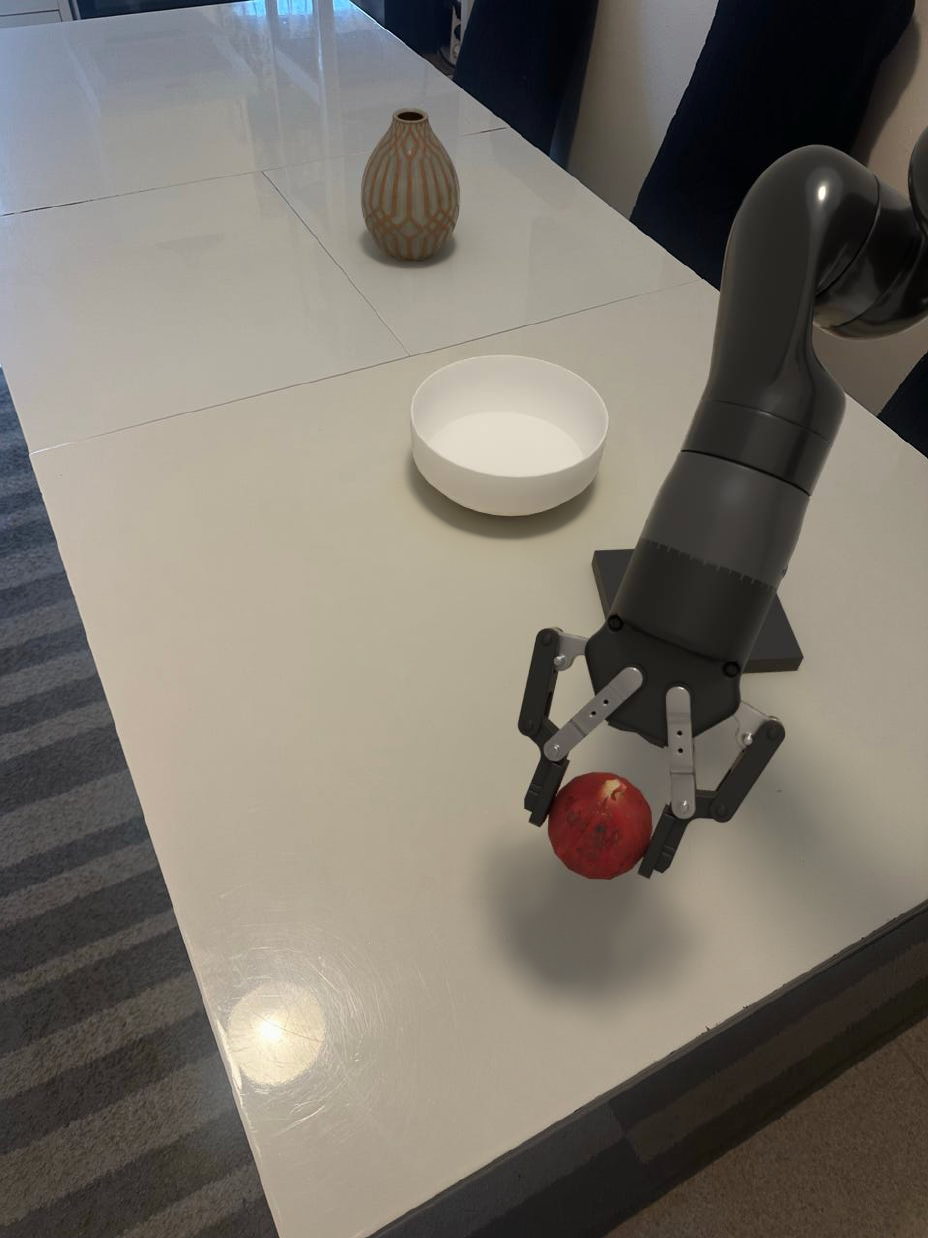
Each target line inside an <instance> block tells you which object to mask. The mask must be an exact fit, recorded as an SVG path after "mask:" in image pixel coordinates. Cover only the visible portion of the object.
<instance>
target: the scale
mask: <svg viewBox="0 0 928 1238" xmlns="http://www.w3.org/2000/svg"><path fill="white" fill-rule="evenodd" d="M634 550H635V548H620V549H619V548H618V549H617V548H616V549H595V550H593V555H592V560H591V567H592V571H593V575H594V579H595V583H596V586H597V591H598V594H599V595H598V596H599V598H600V599H599V600H600V602H601V606H602V610H603V614H604V618H605V620H606V619H607V617H608V615H609V612H610V610H611V607H612V605H613V602H614V600H615V597H616V595H617V592H618V590H619V587H620V585H621V582H622V580H623V577H624V575H625V572H626V570H627V567H628V565H629V562H630V560H631V557H632V555H633V552H634ZM777 592H778V591H777ZM777 592H776V594H775V596H774V599H773V601H772V604H771V606H770V609H769V611H768V613H767V616H766V618H765V620H764V623H763V625H762V627H761V630H760V632H759V635H758V637H757V639H756V642H755V644H754V646H753V649H752V651H751V654H750V656H749V658H748V661H747V663H746V665H745V668H744V670H743V673H742V674H749V673H767V672H769V673H771V672H786V671H788V672H790V671H798V669H799V667H800V666H801V663H802V662H803V660H804V658H805V656H804V654H803V652H802V649H801V647H800V644H799V643H798V640H797V638H796V635H795V632H794V630H793V628H792V625H791V623H790V620H789V619H788V616H787V613H786V612H785V608H784V607H783V604H782V602H781V600H780V598H779V595H778V593H777Z"/></svg>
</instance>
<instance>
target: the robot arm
mask: <svg viewBox="0 0 928 1238" xmlns="http://www.w3.org/2000/svg"><path fill="white" fill-rule="evenodd" d="M907 191H908V196H907V195H905V194H904V193H903V192H901V191H900V190H899V189H897V188H896V187H894V186H893V185H891V184H890V183H888V182H887V181H885V180H884V179H883V178H881V177H879V176H878V175H877V174H875V173H874V172H873V171H871V170H870V169H869V168H867V167H866V166H864V165H863V164H862V163H860V162H859V161H858V160H856V159H855V158H854V157H852V156H850V155H848V154H847V153H845V152H844V151H842V150H839V149H838V148H835V147H832V146H830V145H824V144H809V145H804V146H801V147H797V148H796V149H793V150H791V151H789V152H788V153H786V154H784V155H782V156H781V157H779V158H777V159H776V160H775V161H774V162H773V163H771V164H770V165H769V167H767V168H766V169H765V170H764V171H763V172H762V173H761V174H760V175H759V176H758V177H757V179H756V180H755V182H754V183H753V184H752V185H751V187H750V188H749V190H748V191H747V192H746V194H745V196H744V197H743V199H742V202H741V204H740V206H739V208H738V209H737V211H736V214H735V216H734V219H733V221H732V225H731V227H730V231H729V234H728V238H727V242H726V247H725V252H724V259H723V265H722V273H721V280H720V281H721V282H720V290H719V298H718V306H717V314H716V321H715V327H714V334H713V342H712V350H711V356H710V357H711V358H710V365H709V371H708V376H707V381H706V384H705V387H704V389H703V392H702V394H701V396H700V398H699V402H698V404H697V407H696V409H695V411H694V414H693V416H692V418H691V421H690V423H689V426H688V429H687V431H686V434H685V436H684V438H683V442H682V445H681V446H680V448H679V451H680V452H678V453H677V455H676V458H675V460H674V461H673V464H672V465H671V467H670V469H669V471H668V473H667V474H666V476H665V478H664V480H663V481H662V483H661V485H660V487H659V489H658V491H657V493H656V495H655V498H654V500H653V503H652V505H651V507H650V510H649V513H648V514H647V516H646V517H647V518H646V519H645V522H644V525H643V528H642V529H641V532H640V535H639V538H638V539H637V542H636V545H635V548H634V549H635V550H634V552H633V555H632V557H631V560H630V562H629V565H628V567H627V570H626V572H625V575H624V577H623V580H622V582H621V585H620V587H619V590H618V592H617V595H616V597H615V600H614V602H613V605H612V607H611V610H610V612H609V615H608V617H607V619H606V618H605V621H604V623H603V624H602V625H601V627H600V628H599V629H598V630H597V631H595V633H593V634H592V635H591V636H590V637H585V636H581V635H578V634H572V633H568V632H565V631H564V630H563V629H562V628H560V627H557V626H552V627H546V628H545V627H544V628H542V629H540V630H539V631H538V632H537V633H536V636H535V639H534V645H533V650H532V654H531V659H530V664H529V668H528V673H527V677H526V682H525V688H524V693H523V697H522V701H521V707H520V712H519V716H518V721H517V729H518V732H519V733H520V734H521V735H522V736H524V737H528V738H529V740H530V741H532V742H533V743H534V744H535V745H536V746H537V747H538V749H539V753H540V755H539V756H540V758H539V761H538V764H537V765H536V767H535V770H534V772H533V773H534V774H533V776H532V778H531V780H530V783H529V785H528V788H527V790H526V793H525V796H524V798H523V809H524V810H526V811H528V812H530V816H529V819H528V823H529V824H531V825H533V826H535V827H538V828H541V827H542V826H543V825H544V823H546V821H547V820H548V815H549V812H550V809H551V806H552V804H553V802H554V800H555V797H556V795H557V793H558V791H559V790H560V787H561V784H562V782H563V779H564V777H565V775H566V773H567V770H568V767H569V765H570V762H571V760H570V759H568V757H569V754H570V752H571V751H572V750H573V749H574V748H576V746H578V745H579V743H581V742H582V741H583V740H584V739H585V738H586V737H587V736H588V735H589V734H590V733H592V732H593V731H594V730H595V729H596V728H597V727H598V726H599V725H600V724H602V722H603V721H606V722H607V726H609V727H611V728H614V729H616V730H618V731H621V732H627V733H633V734H637V735H639V737H641V738H642V739H644V740H645V741H646V742H647V743H648V744H651V745H653V746H654V747H655V746H656V747H658V748H660V749H664V748H667V751H668V768H669V769H668V770H669V778H670V802H669V804H668V803H665V804H664V806H663V809H662V812H661V813H660V816H659V818H658V821H657V823H656V826H655V828H654V829H653V830H654V831H653V832H652V836H651V839H650V842H649V845H648V847H647V850H646V852H645V854H644V857H643V858H642V859H641V860H640V864H639V867H638V869H637V875H638V876H641V877H643V878H645V879H647V880H650V879H651V877H652V875H653V873H654V871H656V872H657V873H660V874H664V873H665V872H666V871H667V870H669V868H670V867H671V865H672V863H673V860H674V858H675V855H676V853H677V851H678V848H679V846H680V844H681V842H682V839H683V837H684V834H685V832H686V830H687V827H688V826H689V824H690V823H691V822H693V821H694V820H697V819H704V820H705V819H706V820H713V821H715V822H717V823H720V824H724V823H728V822H730V821H731V820H732V819H733V817H734V816H735V814H736V813H737V811H738V810H739V808H740V807H741V805H742V804H743V802H744V801H745V799H746V798H747V796H748V795H749V793H750V792H751V790H752V788H753V787H754V786H755V784H756V782H757V781H758V779H759V778H760V776H761V775H762V773H763V772H764V770H765V769H766V768H767V766H768V764H769V763H770V761H771V760H772V758H773V757H774V755H775V754H776V752H777V751H778V749H779V748H780V746H781V745H782V743H783V742H784V740H785V738H786V731H785V729H786V728H785V726H784V724H783V722H782V721H781V719H780V718H779V717H777V716H774V715H767V714H765V713H763V712H762V711H760V710H759V709H757V708H755V707H754V706H752V705H751V704H749V703H747V702H745V701H744V700H742V695H741V688H740V687H741V678H742V675H743V674H744V673H743V670H744V668H745V665H746V663H747V661H748V658H749V656H750V654H751V651H752V649H753V646H754V644H755V642H756V639H757V637H758V635H759V632H760V630H761V627H762V625H763V623H764V620H765V618H766V616H767V613H768V611H769V609H770V606H771V604H772V601H773V599H774V596H775V594H776V592H778V589H779V587H780V585H781V583H782V580H783V579H784V578H785V576H786V574H787V572H788V568H789V563H790V561H791V559H792V557H793V554H794V552H795V549H796V546H797V544H798V541H799V537H800V534H801V531H802V528H803V524H804V521H805V516H806V512H807V509H808V507H809V504H810V502H811V497H812V496H813V493H814V491H815V489H816V486H817V484H818V482H819V479H820V477H821V476H822V475H821V474H822V473H823V470H824V468H825V465H826V463H827V461H828V458H829V456H830V453H831V451H832V448H833V446H834V444H835V442H836V439H837V437H838V434H839V432H840V429H841V426H842V424H843V421H844V417H845V414H846V410H847V396H846V392H845V390H844V388H843V386H842V385H841V384H840V383H839V381H838V380H837V379H836V377H835V376H834V375H833V374H832V373H831V372H830V371H829V370H828V369H827V368H826V367H825V365H824V364H823V362H822V361H821V360H820V358H819V356H818V355H817V353H816V351H815V348H814V345H813V344H814V343H813V330H814V329H813V328H814V327H816V328H817V329H819V330H821V331H822V332H824V333H826V334H827V335H830V336H832V337H834V338H836V339H839V340H844V341H848V342H849V341H850V342H873V341H880V340H885V339H889V338H893V337H895V336H899V335H901V334H903V333H905V332H907V331H909V330H911V329H913V328H915V327H916V326H918V325H920V324H921V323H923V322H924V321H926V320H928V125H927V126H926V127H925V128H924V129H923V131H922V132H921V133H920V135H919V137H918V138H917V141H916V142H915V144H914V147H913V149H912V151H911V155H910V158H909V163H908V168H907ZM579 656H584V659H585V663H586V667H587V671H588V675H589V679H590V683H591V686H592V691H593V694H594V697H592V698H591V699H590V700H589V701H588V702H587V703H586V704H585V705H584V706H583V707H582V708H581V709H580V710H579V711H577V713H576V714H574V715H573V716H572V717H571V718H570V719H569V721H567V722H566V723H565V724H563V726H562V727H561V728H559V727H558V726H557V725H556V724H555V723H554V722H553V721H552V720H551V719H550V714H551V709H552V705H553V699H554V694H555V692H556V691H555V690H556V686H557V681H558V677H559V672H564V671H566V670H568V669H570V668H571V667H572V666H573V664H574V661H575V659H576V658H577V657H579ZM730 718H733V719H735V721H736V724H737V729H736V730H735V737H734V738H735V739H734V740H735V743H736V744H737V746H738V747H739V748H740V749H741V750H740V751H739V753H738V754H737V755H736V757H735V758H734V760H733V762H732V763H731V765H730V767H729V768H728V769H727V771H726V772H725V774H724V775H723V777H722V778H721V780H720V782H719V783H718V784H717V786H716V787H715V789H714V790H710V789H698V787H697V757H696V737H699V736H700V735H702V734H704V733H705V732H707V731H710V729H713V728H714V727H715V726H717V725H719V724H721V723H723V722H724V721H727V720H728V719H730Z"/></svg>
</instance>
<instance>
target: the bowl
mask: <svg viewBox="0 0 928 1238" xmlns="http://www.w3.org/2000/svg"><path fill="white" fill-rule="evenodd" d="M609 429H610V418H609V412H608V409H607V407H606V404H605V401H604V400H603V398H602V397H601V396H600V394H599V392H598V391H597V390H596V389H595V388H594V387H593V386H592V385H591V384H589V382H588V381H586V379H584V378H582V377H581V376H579V375H578V374H576V373H575V372H573V371H571V370H569V369H568V368H565V367H563V366H560V365H558V364H556V363H553V362H551V361H546V360H542V359H540V358H535V357H530V356H529V357H528V356H524V355H516V354H515V355H513V354H490V355H489V354H488V355H487V354H486V355H479V356H475V357H474V356H473V357H468V358H464V359H461V360H457V361H454V362H451V363H449V364H448V365H445V366H443V367H441V368H439V369H437V370H435V371H434V372H432V374H430V375H429V376H427V377H426V378H425V379H424V380H423V381H422V383H421V384H419V386H418V387H417V388H416V390H415V392H414V394H413V397H412V399H411V400H410V408H409V433H410V443H411V450H412V451H411V452H412V457H413V461H414V464H415V465H416V467H417V469H418V472H419V473H420V474H421V476H422V477H424V479H425V480H426V481H427V482H428V483H429V484H430V485H431V486H432V487H434V488H435V489H436V490H437V491H439V492H440V493H441V494H443V495H444V496H446V497H447V498H448V499H450V501H453V502H455V503H456V504H458V505H460V506H462V507H464V508H467V509H470V510H472V511H475V512H479V513H483V514H487V515H488V514H489V515H493V516H505V517H514V516H515V517H517V516H518V517H519V516H529V515H533V514H534V515H535V514H538V513H543V512H545V511H548V510H551V509H553V508H556V507H558V506H559V505H561V504H563V503H566V502H568V501H570V500H571V499H573V498H575V497H576V496H578V495H579V494H581V493H582V492H584V490H585V489H586V488H587V487H588V486H589V485H590V484H591V483H592V482H593V480H594V479H595V477H596V475H597V473H598V471H599V468H600V464H601V461H602V458H603V454H604V450H605V447H606V441H607V438H608V433H609Z"/></svg>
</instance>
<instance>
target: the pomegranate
mask: <svg viewBox="0 0 928 1238" xmlns="http://www.w3.org/2000/svg"><path fill="white" fill-rule="evenodd" d="M653 827H654V825H653V813H652V809H651V806H650V804H649V802H648V801H647V799H646V797H645V796H644V794H643V793H642V791H641V790H640V789H639V788H638V787H636V785H634V784H633V783H632V782H631V781H629V780H628V779H627V778H625V777H623V776H620V775H618V774H616V773H613V772H605V771H604V772H603V771H590V772H587V773H584V774H583V773H582V774H581V775H577V776H574V777H573V778H572V779H570V780H569V781H568V782H567V783H566V784H564V785H563V786H562V787H561V788H559V790H558V792H557V795H556V797H555V800H554V802H553V804H552V806H551V809H550V812H549V814H548V817H547V837H548V840H549V842H550V845H551V848H552V850H553V853H554V855H555V856H556V857H557V858H558V859H559V861H560V862H561V863H562V864H563V865H564V866H565V867H566V868H567V870H568V871H571V872H573V873H575V874H577V875H579V876H581V877H583V878H585V879H587V880H603V881H604V880H605V881H611V880H614V879H615V878H618V877H619V876H622V875H624V874H627V873H628V872H629V871H632V870H633V869H634V868H635V867H636V866H637V865H638V863H639V862H641V861H642V859H643V857H644V854H645V852H646V850H647V847H648V845H649V842H650V840H651V838H652V835H653V833H654V831H653V830H654V828H653Z"/></svg>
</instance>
